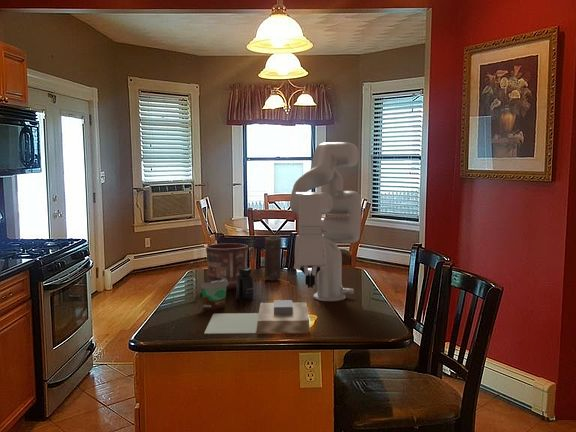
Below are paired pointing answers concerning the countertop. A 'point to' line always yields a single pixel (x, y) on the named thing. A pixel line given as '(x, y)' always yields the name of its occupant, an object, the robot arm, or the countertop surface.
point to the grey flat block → (283, 307)
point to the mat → (233, 323)
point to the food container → (214, 293)
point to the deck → (283, 319)
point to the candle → (272, 258)
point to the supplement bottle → (245, 285)
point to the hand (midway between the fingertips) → (310, 286)
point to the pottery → (226, 262)
